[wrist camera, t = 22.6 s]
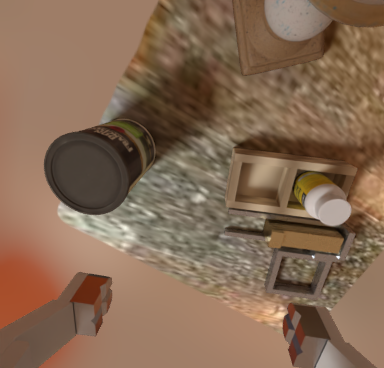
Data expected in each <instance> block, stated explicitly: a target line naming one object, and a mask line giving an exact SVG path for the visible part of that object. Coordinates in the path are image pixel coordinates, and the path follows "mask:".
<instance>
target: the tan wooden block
mask: <svg viewBox="0 0 384 368" xmlns="http://www.w3.org/2000/svg"><path fill="white" fill-rule="evenodd" d="M263 233H264V236H265V239H266V242H267V245H268V247H273V248H281V246H286V247H293V248H301V249H308V250H315V251H323V252H330V253H339V250H340V248H341V246H342V243H343V241H344V238H343V237H342V236H341V234H340V233H339V232H338V231H337V230H336V229H335V228H334V227H328V226H321V225H313V224H305V223H298V222H290V221H282V220H275V219H267V218H266V220H265V224H264V228H263Z"/></svg>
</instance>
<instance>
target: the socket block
mask: <svg viewBox="0 0 384 368" xmlns="http://www.w3.org/2000/svg"><path fill="white" fill-rule="evenodd" d="M228 213H229V214H236V215H244V216H252V217H259V218H267V219H275V220H282V221H290V222H298V223H305V224H313V225H321V226H328V227H335V229H336V230H337V231H338V232H339V233H340V234H341V236H342V237H343V238H344V241H343V243H342V246H341V248H340V250H339V253H330V252H323V251H315V250H308V249H301V248H293V247H286V246H281V248H275V249H274V252H273V256H272V259H271V263H270V266H269V270H268V274H267V277H266V281H265V284H264V285H265V289H266V292H267V293H274V294H281V295H288V296H295V297H302V298H309V299H318V297H319V294H320V292H321V289H322V287H323V284H324V282H325V279H326V277H327V274H328V272H329V269H330V267H331V264H332V262H337V260H338V259H339V260H345V259H346V256H347V254H348V251H349V249H350V247H351V244H352V242H353V240H354V237H355V235H356V233H355V232H354V231H353V230H352V229H351V228H350V227H349V226H348V225H347V224H346V223H345V222H344V223H342V224H339V225H335V226H329V225H326V224H324V223H322V222H321V221H320V220H319V219H315V218H308V217H300V216H292V215H285V214H277V213H269V212H261V211H254V210H246V209H238V208H230V207H229V209H228ZM224 234H225V235H226V236H234V237H241V238H249V239H256V240H264V241H266V239H265V236H264V233H258V232H250V231H243V230H235V229H228V228H225V231H224ZM282 256H284V257H292V258H299V259H306V260H314V261H320V262H319V264H318V267H317V270H316V272H315V275H314V278H313V280H312V283H311V286H310V287H305V286H297V285H290V284H283V283H276V282H275V280H276V276H277V273H278V270H279V266H280V263H281V260H282Z"/></svg>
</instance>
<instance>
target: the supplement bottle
mask: <svg viewBox="0 0 384 368" xmlns="http://www.w3.org/2000/svg"><path fill="white" fill-rule="evenodd" d="M292 191H293V193H294V195H295V196H296V198H297V199H298V200H299V202H300V203H301V204H302V206H303V207H304V208H305V210H306V211H307V212H308V213H309V215H311V216H312V217H314V218H316V219H319V220H320V221H321V222H322V223H324V224H326V225H329V226H335V225H339V224H342V223H344V222H345V221H346V220H347V219H348V218H349V216H350V214H351V206H350V204H349V203H348V202H347V201H346V195H345V193H344V192H343V190H342V189H341V188H339V187H338V186H337V185H336V184H335V183H333V182H332V181H331V180H330V179H328V178H327V177H326V176H325V175H323V174H322V173H321V172H319V171H310V170H305V171H302V172H300V173H299V174H298V175H297V176H296V177H295V179H294V183H293V186H292Z"/></svg>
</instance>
